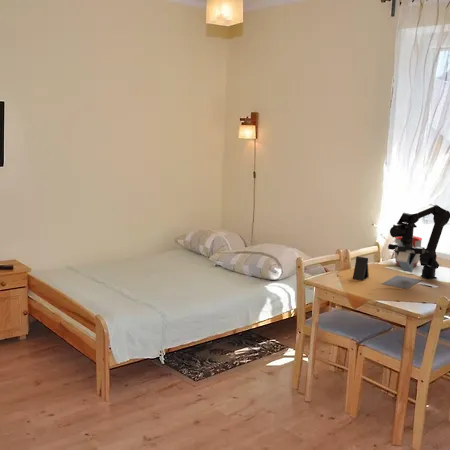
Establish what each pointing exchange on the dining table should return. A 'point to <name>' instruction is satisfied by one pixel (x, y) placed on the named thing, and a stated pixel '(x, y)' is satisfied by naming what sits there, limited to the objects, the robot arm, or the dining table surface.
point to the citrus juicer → (415, 244)
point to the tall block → (405, 262)
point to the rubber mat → (401, 282)
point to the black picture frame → (361, 269)
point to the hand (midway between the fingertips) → (405, 263)
